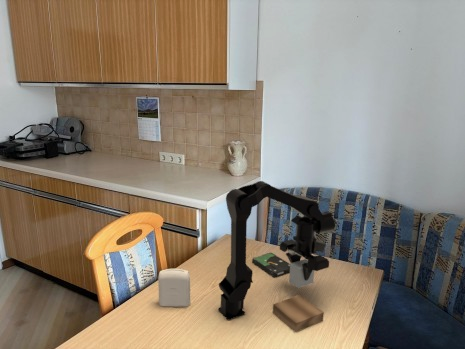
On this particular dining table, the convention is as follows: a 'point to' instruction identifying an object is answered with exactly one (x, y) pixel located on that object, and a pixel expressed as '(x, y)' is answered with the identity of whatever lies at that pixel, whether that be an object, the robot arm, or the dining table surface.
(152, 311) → the dining table surface
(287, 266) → the disk drive
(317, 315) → the stand
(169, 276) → the photo printer
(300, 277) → the block
